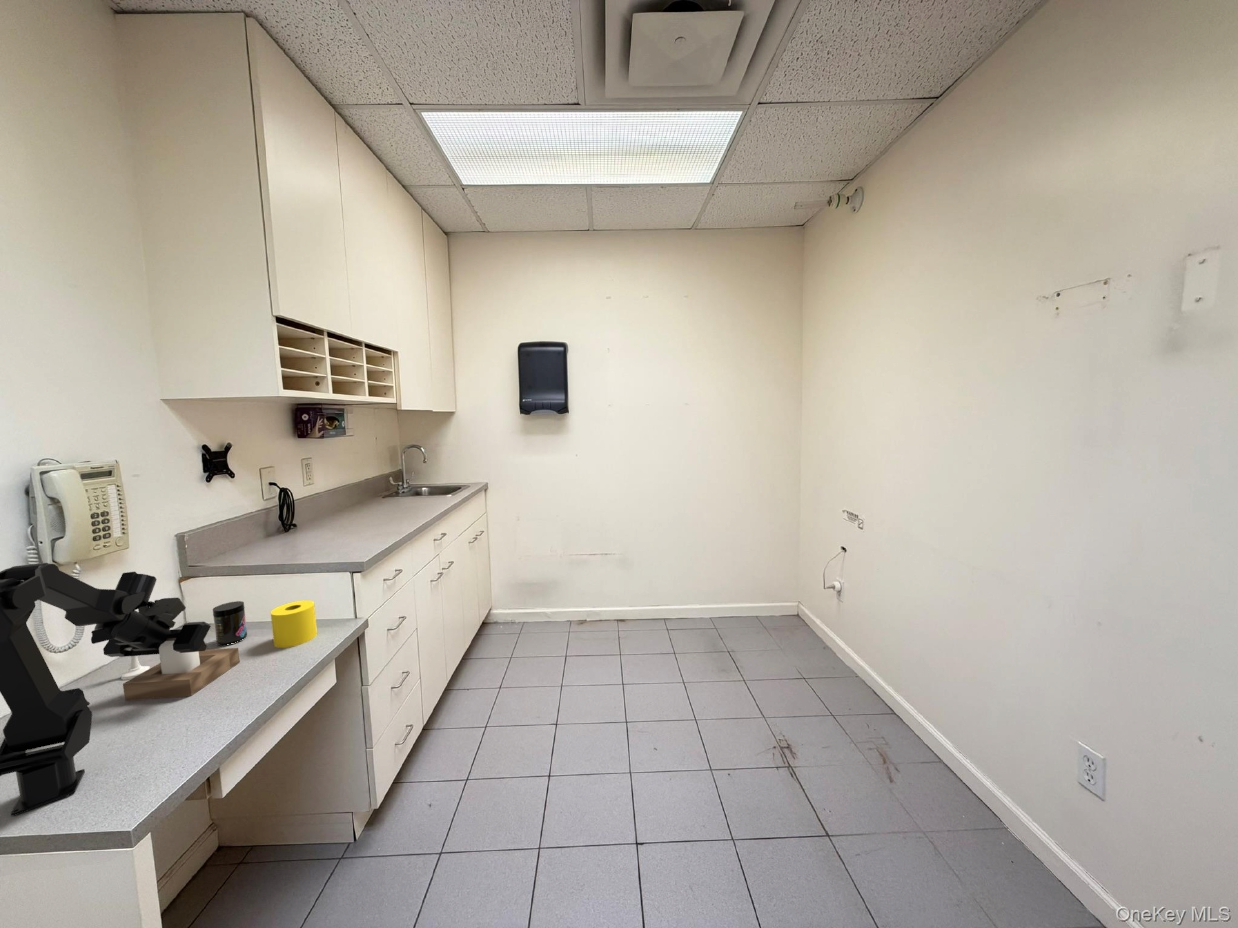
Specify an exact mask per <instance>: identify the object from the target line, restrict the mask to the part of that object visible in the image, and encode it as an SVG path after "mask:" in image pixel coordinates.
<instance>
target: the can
mask: <svg viewBox="0 0 1238 928" xmlns="http://www.w3.org/2000/svg"><path fill="white" fill-rule="evenodd" d="M173 643H174V641H165V642H164V643H163V644H161V645H160V647H159V654H158V655H159V662H160V663H161V670H162V674H177V673H188V672H189V671H191V670H193V669H194V668H196V667H197V666H199V665H200V659H199V652H187V653H180V652H177V651H175V650H173Z"/></svg>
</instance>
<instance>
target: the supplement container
mask: <svg viewBox="0 0 1238 928" xmlns="http://www.w3.org/2000/svg"><path fill="white" fill-rule="evenodd" d="M245 610H246V609H245V602H244V601H241V600H240V601H239V600H237V601H229V602H225V603H222V604H219V605H218V606H215V607H213V609H212V616H213V622H214V630H215V631H214V632H215V640H216V644H217V646H220V645H226V646H228V645H227V644H231V643H235V642H237V641H240V640H242V639H244V638H245V639H246V638H247V637H248V629H247V621H246V612H245ZM245 639H244V640H245ZM242 641H243V640H242ZM240 642H241V641H240ZM235 644H236V643H235ZM231 645H232V644H231Z"/></svg>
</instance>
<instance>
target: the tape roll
mask: <svg viewBox="0 0 1238 928" xmlns="http://www.w3.org/2000/svg"><path fill="white" fill-rule="evenodd" d="M270 618H271V620H270V621H271V628H272V639H273V646H274V647H275V648H278V649H285V648H293V647H297V646H300V645H303V644H305V643H309V642H310V641H312V640H314V639H315V638H316V637H317V635H318V630H317V629H318V628H317V617H316V609H315V601H313V600H298V601H293V602H289V603H285V604H282V605H279V606H277V607H275V608H273V609H272V610H271V611H270Z"/></svg>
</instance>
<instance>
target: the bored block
mask: <svg viewBox="0 0 1238 928" xmlns="http://www.w3.org/2000/svg"><path fill="white" fill-rule="evenodd" d="M199 659H200V665H199V666H197V667H196V668H194V669H193V670H191V671H189V672H188V673H177V674H162V670H161V662H160V663H157V664H155V665H154V666H152V667H151V668H150V669H148V670H147V671H145V672H143V673H141V674H140V675H138V676H136V677H134V678H132V679H128V680H127V681H126V682H124V683H123V684H122V687H123V694H124V701H126V702H127V701H139V700H140V701H141V700H153V699H154V700H155V699H166V698H167V699H168V698H178V697H179V698H181V697H191V696H194V695H195V694H197V693H198V692H199V691H201V690H202V689H204V688H205V687H206V686H208V685H210V684H211V683H212V682H214V681H215V680H217V679H218V678H219V677H221V676H222V675H225V673H227V672H228V671H229V670H231V669H233V668H234V667H236V666H237V665H238V664H240V662H241V660H240V650H239V647H231V648H216V649H214V648H213V649H206V650H205V651H199ZM232 667H233V668H232ZM227 670H228V671H227Z"/></svg>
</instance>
